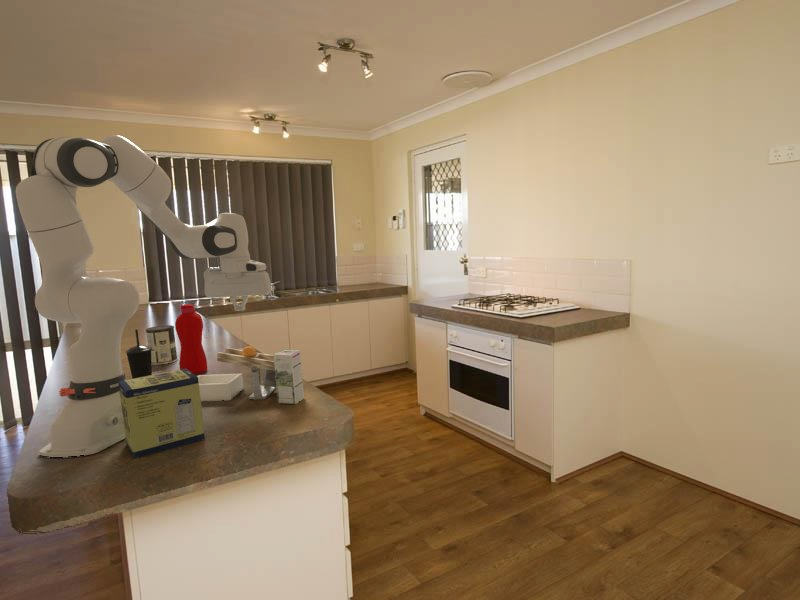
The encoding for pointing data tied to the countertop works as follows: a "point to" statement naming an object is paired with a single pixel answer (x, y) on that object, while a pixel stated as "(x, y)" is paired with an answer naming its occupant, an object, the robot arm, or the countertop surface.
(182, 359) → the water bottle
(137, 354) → the drinking cup
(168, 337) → the coffee can
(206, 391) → the white open tray
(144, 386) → the protein box
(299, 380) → the syrup box
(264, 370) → the pivot stand
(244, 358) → the lever
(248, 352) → the ball
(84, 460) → the countertop surface
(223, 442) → the countertop surface
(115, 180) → the robot arm
